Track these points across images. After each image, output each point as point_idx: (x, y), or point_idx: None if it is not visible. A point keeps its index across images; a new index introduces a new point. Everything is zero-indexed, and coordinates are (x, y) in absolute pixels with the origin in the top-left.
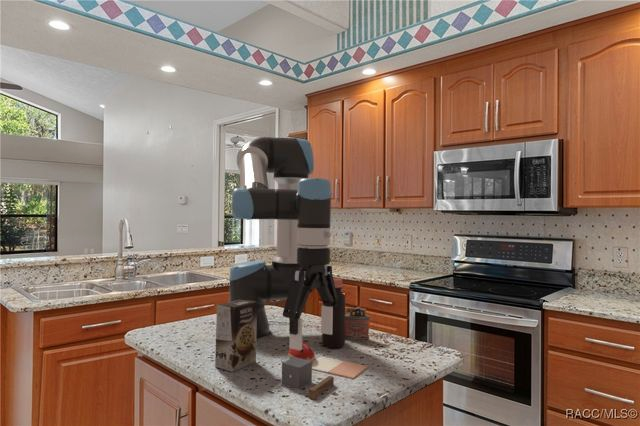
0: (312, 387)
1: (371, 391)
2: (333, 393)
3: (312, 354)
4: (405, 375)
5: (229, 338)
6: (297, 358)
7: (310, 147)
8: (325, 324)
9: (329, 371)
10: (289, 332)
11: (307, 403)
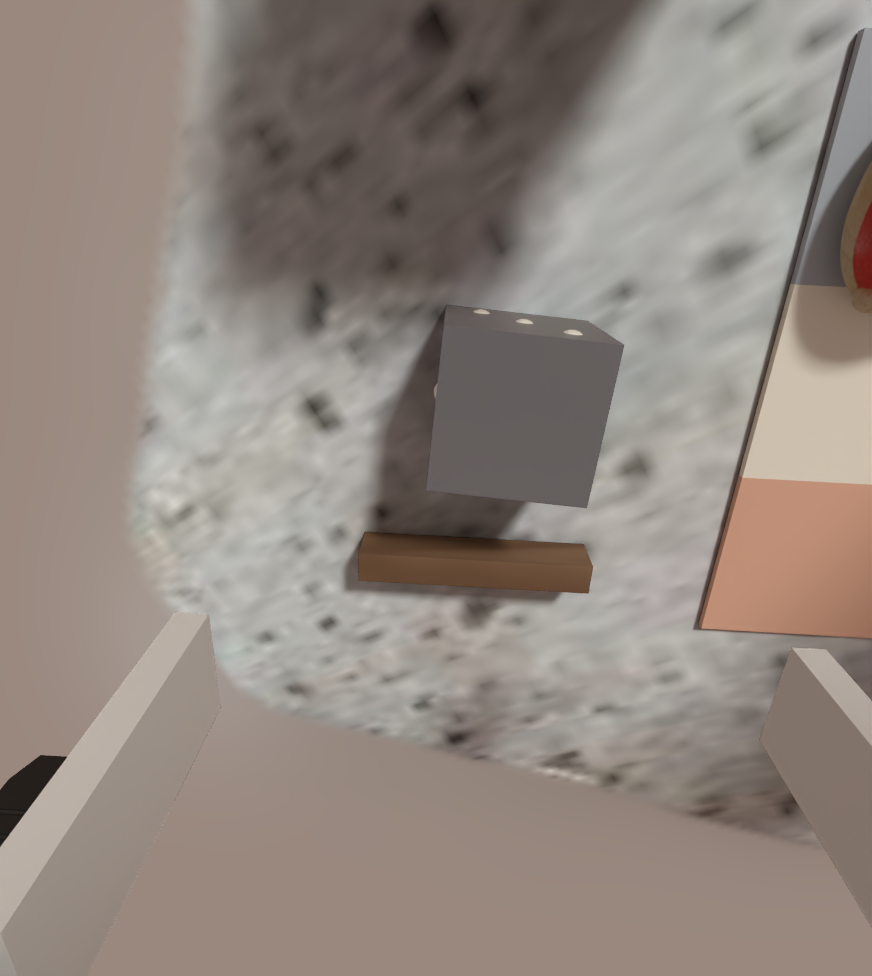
0: (390, 557)
1: (579, 730)
2: (476, 606)
3: None
4: None
5: None
6: (598, 382)
7: None
8: (836, 770)
9: (752, 484)
10: (23, 769)
11: (310, 550)
